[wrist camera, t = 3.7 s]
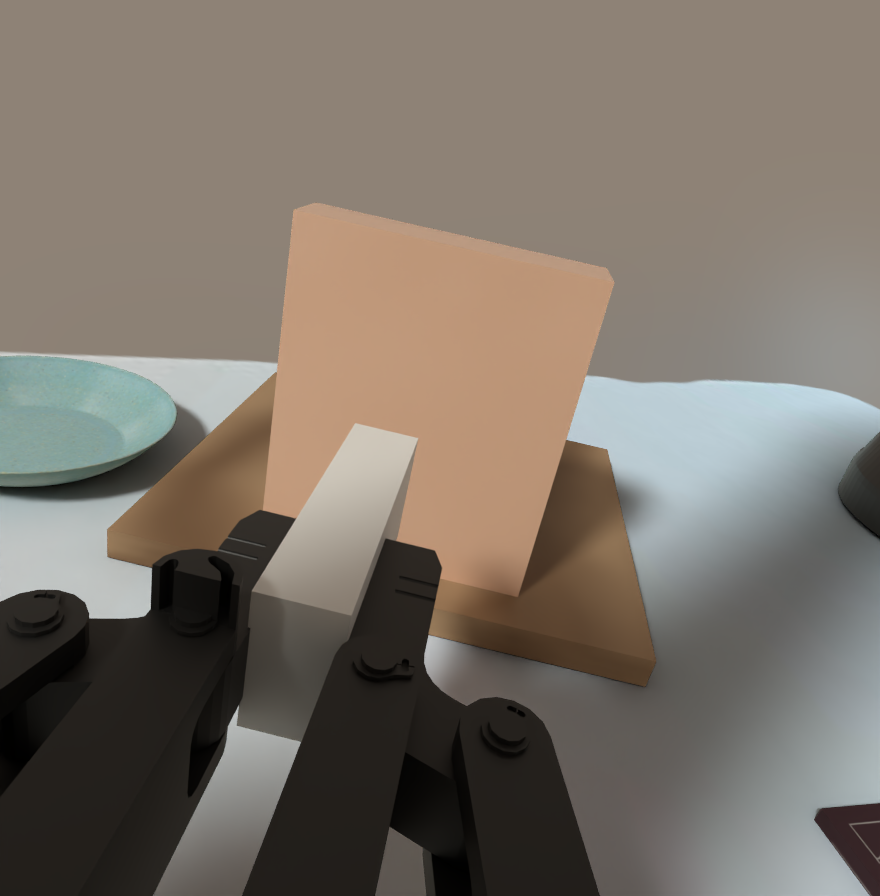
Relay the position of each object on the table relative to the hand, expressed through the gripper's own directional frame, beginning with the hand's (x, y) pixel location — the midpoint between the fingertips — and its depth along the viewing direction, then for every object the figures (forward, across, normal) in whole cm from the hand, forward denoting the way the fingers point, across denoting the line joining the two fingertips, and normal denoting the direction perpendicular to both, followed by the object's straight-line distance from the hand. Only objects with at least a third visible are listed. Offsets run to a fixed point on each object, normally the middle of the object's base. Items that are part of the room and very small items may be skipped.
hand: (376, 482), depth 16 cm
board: (+15, 0, -9) cm, 17 cm away
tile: (+9, 0, -8) cm, 11 cm away
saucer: (+12, -17, -9) cm, 23 cm away
